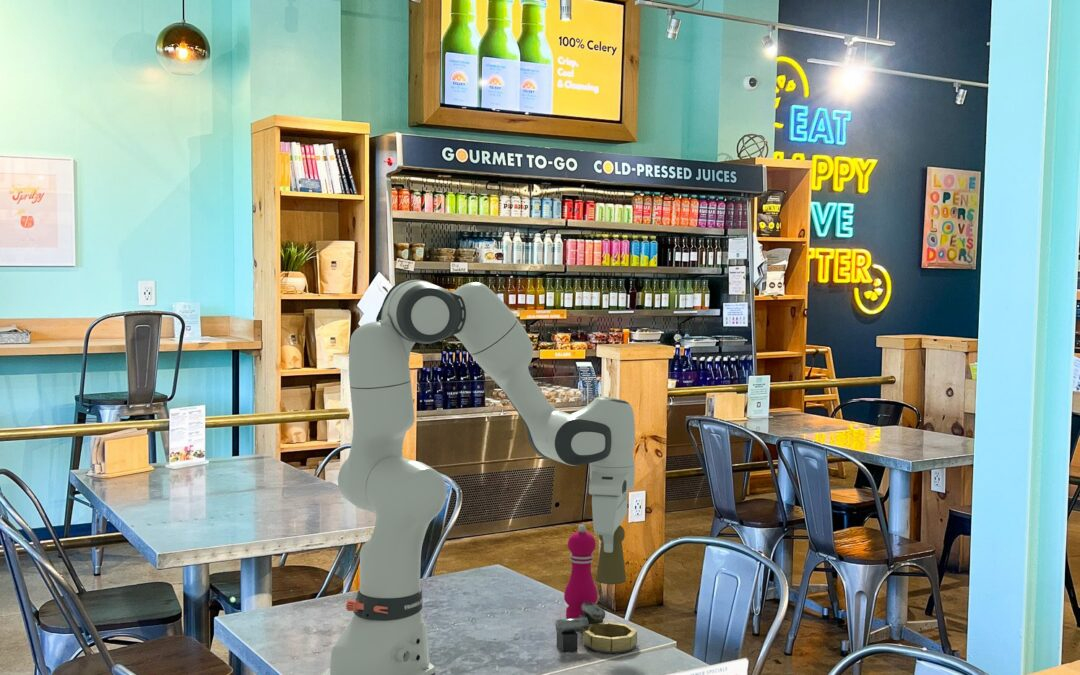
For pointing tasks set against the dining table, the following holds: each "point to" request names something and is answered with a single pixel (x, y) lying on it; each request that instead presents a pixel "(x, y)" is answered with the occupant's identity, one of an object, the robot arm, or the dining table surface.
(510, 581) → the dining table surface
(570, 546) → the pepper mill
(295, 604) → the dining table surface
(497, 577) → the dining table surface
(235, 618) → the dining table surface
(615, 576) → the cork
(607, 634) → the coupling collar
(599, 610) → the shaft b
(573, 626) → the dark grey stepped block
